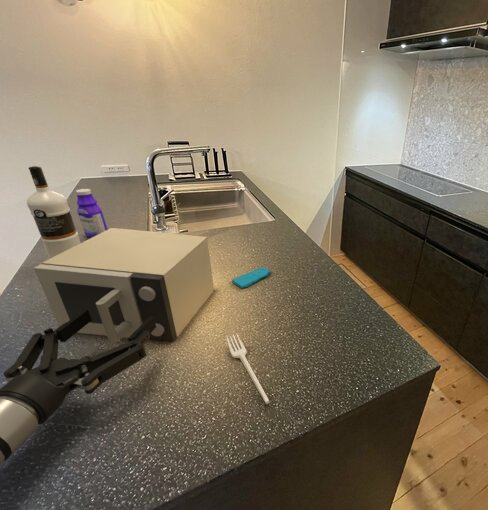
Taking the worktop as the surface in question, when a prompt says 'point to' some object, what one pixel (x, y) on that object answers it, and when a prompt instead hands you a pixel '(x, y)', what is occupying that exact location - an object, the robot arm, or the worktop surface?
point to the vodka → (51, 216)
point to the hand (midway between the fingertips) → (120, 318)
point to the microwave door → (92, 299)
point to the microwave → (151, 272)
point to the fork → (246, 364)
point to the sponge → (251, 277)
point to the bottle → (90, 213)
